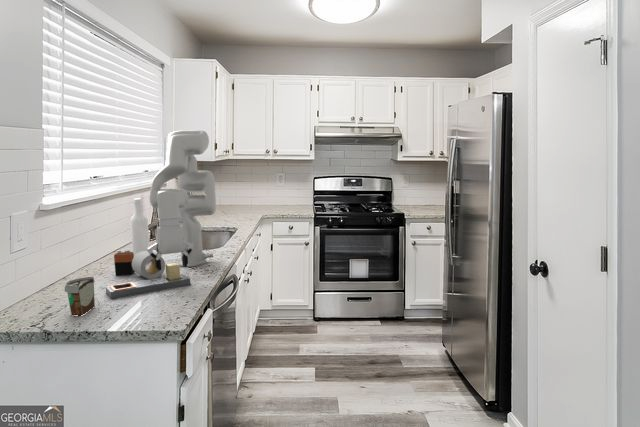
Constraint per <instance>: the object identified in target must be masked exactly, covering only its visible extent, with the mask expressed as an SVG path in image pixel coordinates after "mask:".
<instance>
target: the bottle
mask: <svg viewBox="0 0 640 427" xmlns="http://www.w3.org/2000/svg"><path fill="white" fill-rule="evenodd" d="M132 203H133V213H134V214H132V216H131V217H130V219H129V224H130V238H131V250H132V251H131V252H133V253H134V256H135V255H136V254H137V253H139V252H142V251H147V249H148V248H149V247H151V245H150V233H149V221H148V218H147V216H146V214H144V213H143V200H142V198H133V201H132ZM149 262H151V260H149V261H148V262H147V263H149Z"/></svg>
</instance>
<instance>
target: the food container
mask: <svg viewBox="0 0 640 427" xmlns="http://www.w3.org/2000/svg"><path fill="white" fill-rule="evenodd" d="M64 286H65V287H64V292H65V293H67V297H68V304H69V309H70V315H71V314H72V315H78V316H81V315H83V314H85V313H86V312H88V311H89V310H90V309H92V308H93V307H94V308H95V307H96V305H95V304H96V302H95V301H96V300H95V278H94V276H86V277H85V276H84V277H80V278H75V279H72V280H69V281H67V282H66V283H65V285H64ZM94 308H93V309H94ZM93 309H92V310H93ZM89 312H90V311H89ZM89 312H88V313H89ZM72 315H71V316H72Z"/></svg>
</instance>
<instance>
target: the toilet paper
mask: <svg viewBox="0 0 640 427" xmlns="http://www.w3.org/2000/svg"><path fill="white" fill-rule="evenodd" d="M154 254H155V255H156V254H157V253H154ZM149 260H150V261H149ZM160 260H161V270H160V271H159V270H157V268H156V264H155V259H154V258H153V257H152V256H150V254H149V253H148V251H142V252H139V253H137V254H136V255H135V256H134V258H133V260H132V268H133V270H134V271H135V273H136V274H137V275H139V276H141V277H144V278H146V279H147V280H150V279H156V278H160V277H161V276H162V274H164V272H165V271H166V261H165V259H164V258H163V257H162V256H161V257H160ZM148 261H149V262H150V266H149V267H148V268H146V267H147V266H146V265H147V264H148V263H149V262H148Z"/></svg>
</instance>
